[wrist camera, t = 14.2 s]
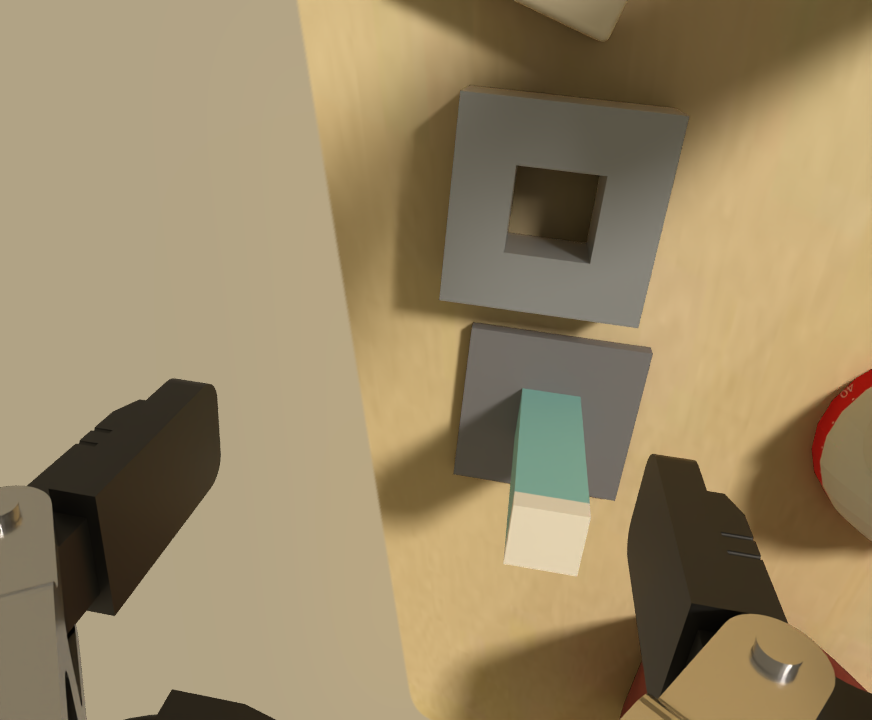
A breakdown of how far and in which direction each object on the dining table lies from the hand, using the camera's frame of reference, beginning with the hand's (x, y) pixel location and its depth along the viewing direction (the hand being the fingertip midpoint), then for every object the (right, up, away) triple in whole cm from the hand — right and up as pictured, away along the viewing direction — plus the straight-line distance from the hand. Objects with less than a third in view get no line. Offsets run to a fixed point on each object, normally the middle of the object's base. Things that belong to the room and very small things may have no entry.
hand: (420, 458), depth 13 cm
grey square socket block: (+8, +12, +30) cm, 33 cm away
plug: (+8, -2, +36) cm, 37 cm away
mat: (+8, -2, +36) cm, 37 cm away
